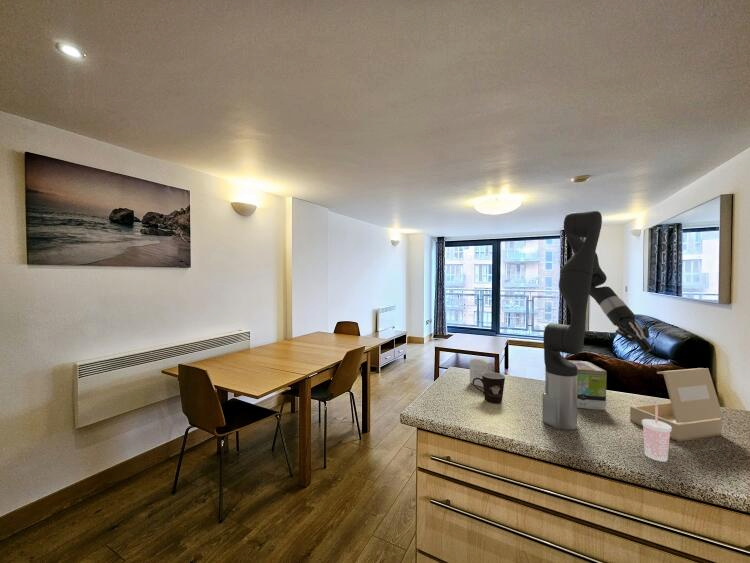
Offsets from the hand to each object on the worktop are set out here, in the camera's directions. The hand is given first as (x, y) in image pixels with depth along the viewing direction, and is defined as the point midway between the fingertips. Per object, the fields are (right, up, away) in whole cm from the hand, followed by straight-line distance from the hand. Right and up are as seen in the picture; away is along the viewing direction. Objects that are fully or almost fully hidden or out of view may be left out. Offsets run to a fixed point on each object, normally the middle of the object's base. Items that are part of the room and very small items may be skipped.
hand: (649, 350), depth 110 cm
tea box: (-13, -24, +15) cm, 31 cm away
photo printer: (-48, -23, +33) cm, 63 cm away
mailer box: (+2, -24, -7) cm, 25 cm away
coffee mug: (-50, -23, +16) cm, 57 cm away
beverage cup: (-19, -24, -24) cm, 39 cm away
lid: (+3, -12, -10) cm, 16 cm away
